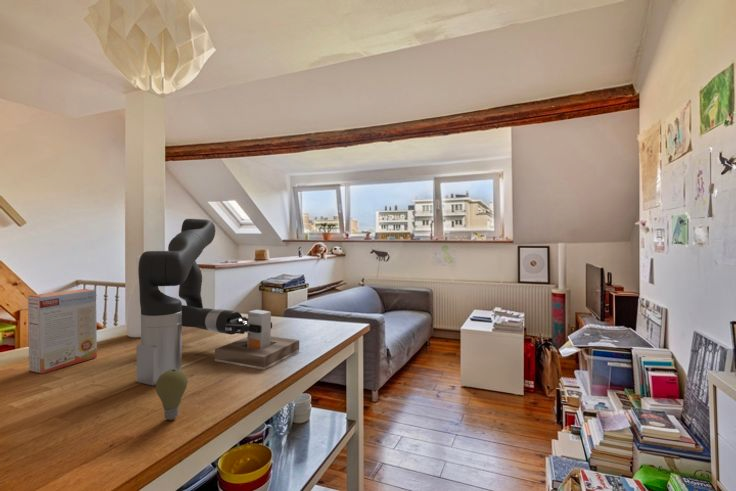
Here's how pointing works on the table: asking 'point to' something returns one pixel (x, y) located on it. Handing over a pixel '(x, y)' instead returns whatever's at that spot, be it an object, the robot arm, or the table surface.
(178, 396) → the light bulb
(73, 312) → the cracker box
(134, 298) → the wine bottle
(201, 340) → the table surface
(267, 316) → the skincare box
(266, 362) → the walnut stand
